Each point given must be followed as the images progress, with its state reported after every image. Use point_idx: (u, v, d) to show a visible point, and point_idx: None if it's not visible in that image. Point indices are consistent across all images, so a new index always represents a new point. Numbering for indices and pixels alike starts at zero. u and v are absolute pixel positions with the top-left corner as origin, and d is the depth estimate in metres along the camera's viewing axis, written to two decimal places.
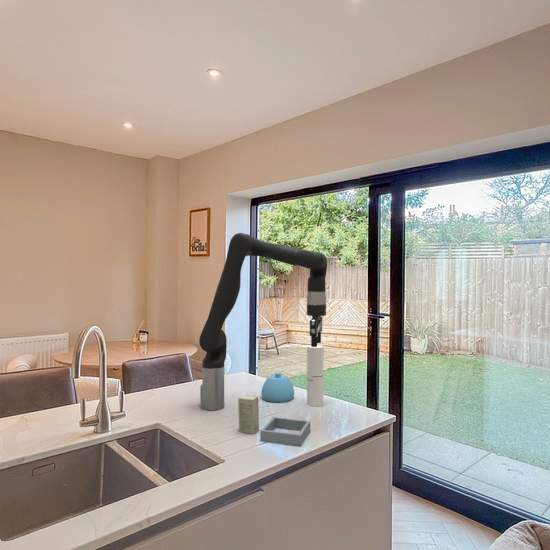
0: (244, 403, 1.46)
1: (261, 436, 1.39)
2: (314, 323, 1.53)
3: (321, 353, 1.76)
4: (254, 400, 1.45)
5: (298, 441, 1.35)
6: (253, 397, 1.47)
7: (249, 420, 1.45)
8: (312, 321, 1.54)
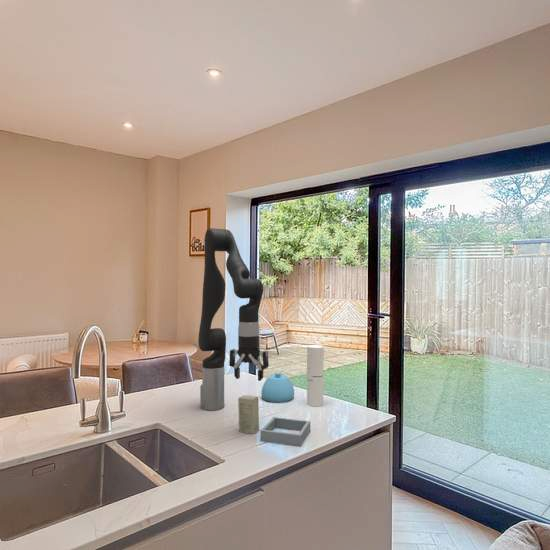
0: (244, 403, 1.46)
1: (261, 436, 1.39)
2: (267, 354, 1.46)
3: (321, 353, 1.76)
4: (254, 400, 1.45)
5: (298, 441, 1.35)
6: (253, 397, 1.47)
7: (249, 420, 1.45)
8: (266, 353, 1.45)
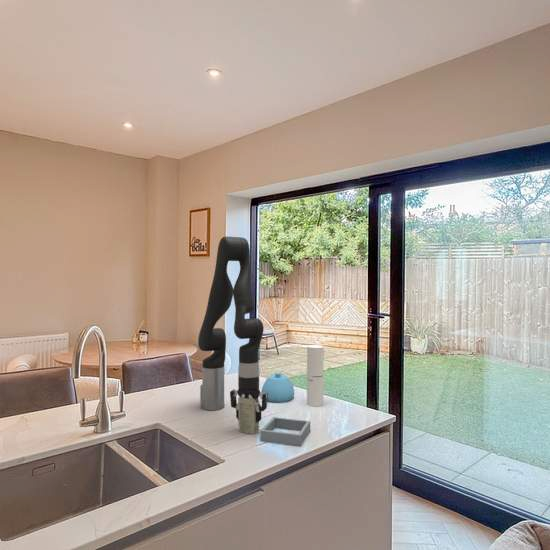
0: (244, 403, 1.46)
1: (261, 436, 1.39)
2: (267, 396, 1.46)
3: (321, 353, 1.76)
4: (254, 399, 1.46)
5: (298, 441, 1.35)
6: None
7: (249, 420, 1.45)
8: (266, 395, 1.45)
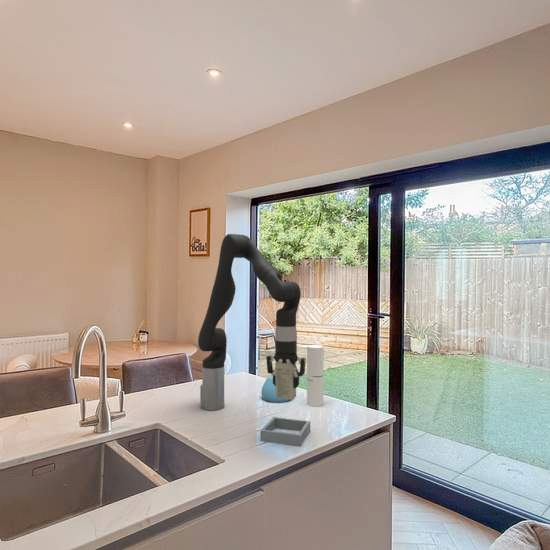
0: (281, 368, 1.42)
1: (261, 436, 1.39)
2: (305, 361, 1.42)
3: (321, 353, 1.76)
4: (292, 364, 1.41)
5: (298, 441, 1.35)
6: None
7: (287, 385, 1.41)
8: (304, 360, 1.41)
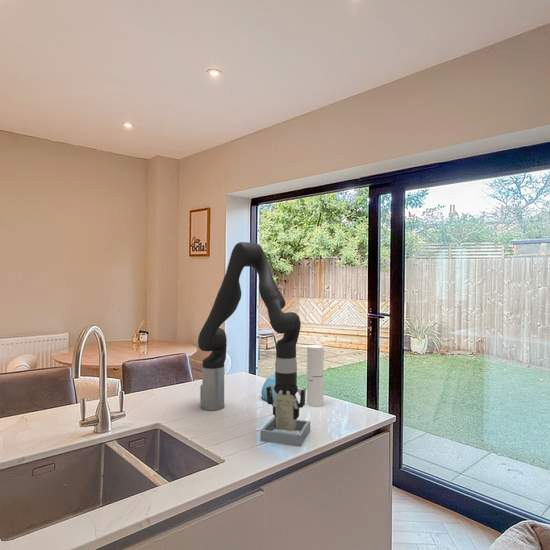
0: (282, 399, 1.42)
1: (261, 436, 1.39)
2: (305, 393, 1.42)
3: (321, 353, 1.76)
4: (292, 396, 1.41)
5: (298, 441, 1.35)
6: None
7: (287, 416, 1.41)
8: (304, 391, 1.41)
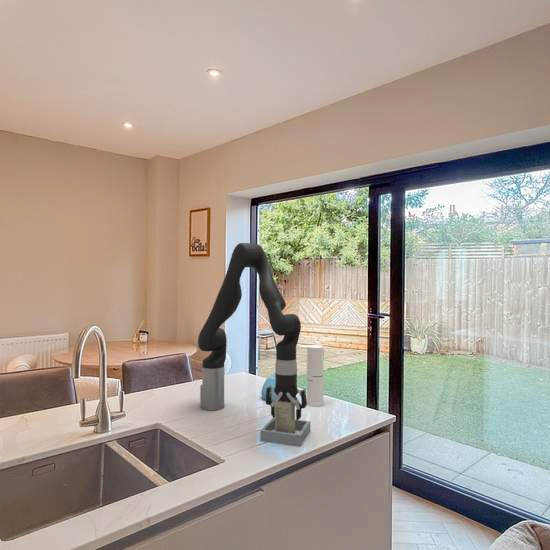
0: (281, 407, 1.42)
1: (261, 436, 1.39)
2: (305, 393, 1.42)
3: (321, 353, 1.76)
4: (291, 403, 1.41)
5: (298, 441, 1.35)
6: (290, 401, 1.43)
7: (287, 424, 1.41)
8: (304, 391, 1.41)
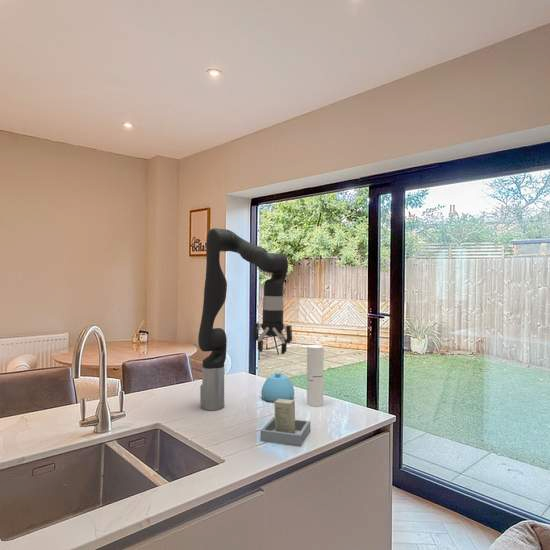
0: (281, 407, 1.42)
1: (261, 436, 1.39)
2: (291, 328, 1.48)
3: (321, 353, 1.76)
4: (291, 403, 1.41)
5: (298, 441, 1.35)
6: (290, 401, 1.43)
7: (287, 424, 1.41)
8: (290, 327, 1.47)
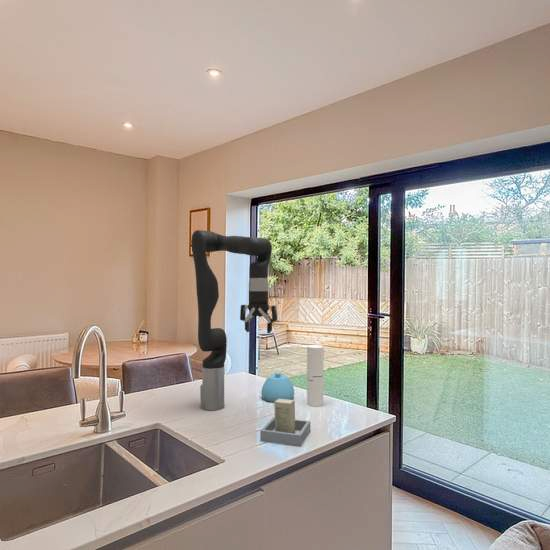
0: (281, 407, 1.42)
1: (261, 436, 1.39)
2: (275, 308, 1.55)
3: (321, 353, 1.76)
4: (291, 403, 1.41)
5: (298, 441, 1.35)
6: (290, 401, 1.43)
7: (287, 424, 1.41)
8: (275, 307, 1.55)
